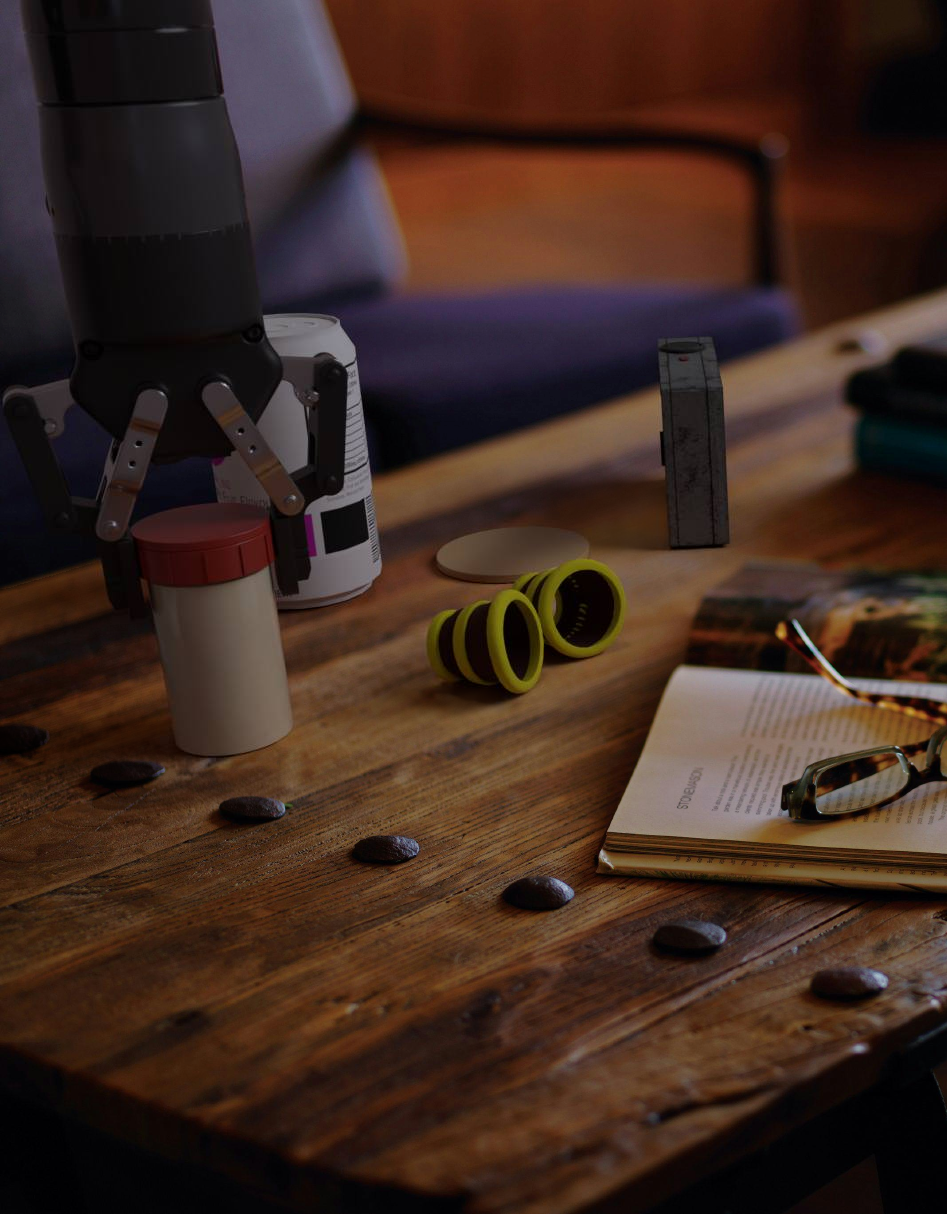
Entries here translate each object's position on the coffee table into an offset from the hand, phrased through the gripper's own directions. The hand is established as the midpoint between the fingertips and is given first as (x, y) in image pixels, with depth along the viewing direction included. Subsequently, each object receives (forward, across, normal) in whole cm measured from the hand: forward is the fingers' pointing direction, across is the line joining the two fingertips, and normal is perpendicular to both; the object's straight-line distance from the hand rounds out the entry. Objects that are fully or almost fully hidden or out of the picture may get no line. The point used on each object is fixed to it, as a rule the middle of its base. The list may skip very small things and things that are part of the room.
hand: (214, 600), depth 72 cm
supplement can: (+7, +6, +18) cm, 21 cm away
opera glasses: (+7, +14, +1) cm, 16 cm away
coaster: (+6, +18, +18) cm, 26 cm away
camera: (+7, +31, +22) cm, 39 cm away
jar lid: (-3, 0, 0) cm, 3 cm away
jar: (+6, 0, 0) cm, 6 cm away
